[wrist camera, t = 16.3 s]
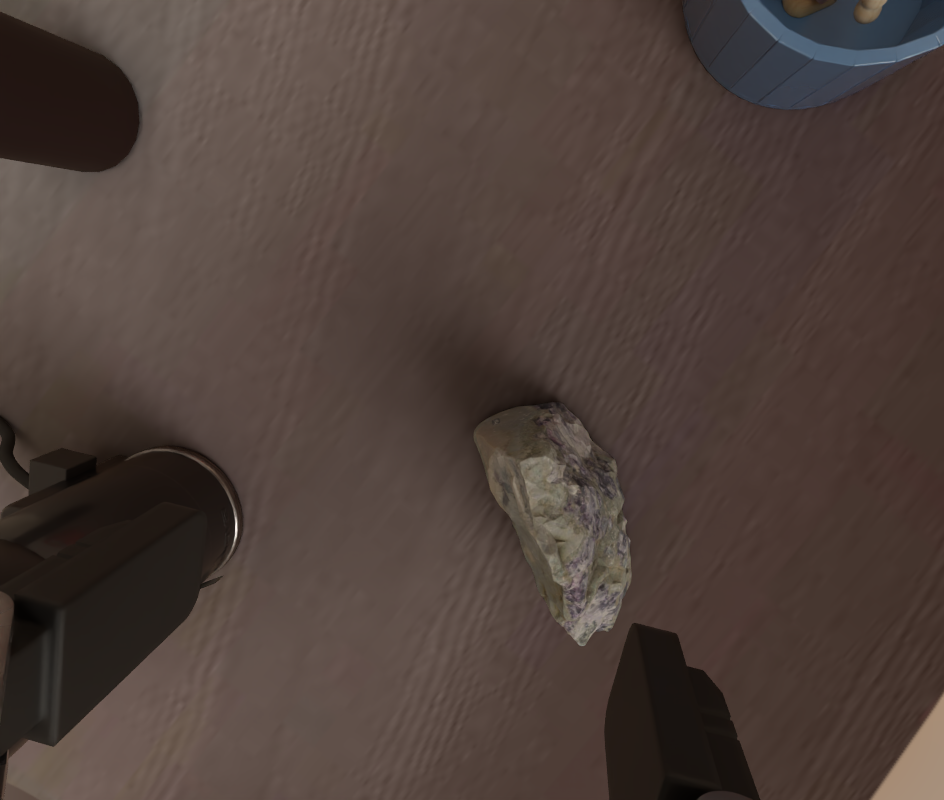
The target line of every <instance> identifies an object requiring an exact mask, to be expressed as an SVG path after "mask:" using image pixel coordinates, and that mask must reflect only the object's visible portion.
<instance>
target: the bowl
mask: <svg viewBox="0 0 944 800" xmlns="http://www.w3.org/2000/svg"><path fill="white" fill-rule="evenodd" d="M859 1H860V0H837V1H836V2H835V3H833V4H832V5H830V6H828V7H826V8H824V9H821V10H819V11H817V12H815V13H812V14H810V15H807V16H805V17H801V18H796V17H792V16H790V15H789V14H787V13H786V11H785V10H784V8H783V4H782V0H683V14H684V19H685V24H686V29H687V32H688V35H689V38H690V41H691V44H692V46H693V48H694V50H695V52H696V54H697V56H698V58H699V59H700V61H701V62H702V64H703V65H704V67H705V68H706V70H707V71H708V72H709V73H710V74H711V75H712V76H713V77H714V78H715V79H716V81H718V82H719V83H720V84H721V85H722V86H724V87H725V88H726V89H727V90H729V91H730V92H732V93H734V94H735V95H737V96H739V97H740V98H742V99H745V100H747V101H749V102H752V103H754V104H758V105H761V106H765V107H769V108H777V109H806V108H812V107H818V106H822V105H825V104H829V103H832V102H835V101H838V100H840V99H842V98H845V97H847V96H850V95H853V94H855V93H857V92H859V91H861V90H862V89H864V88H866V87H868V86H870V85H872V84H873V83H875V82H877V81H879V80H881V79H882V78H884V77H886V76H888V75H890V74H891V73H893V72H895V71H897V70H899V69H901V68H902V67H904V66H906V65H908V64H910V63H911V62H913V61H915V60H917V59H919V58H921V57H922V56H924V55H926V54H928V53H930V52H931V51H933V50H935V49H937V48H939V47H941V46H942V45H944V0H887V2H886V3H885V4H884V5H883V6H882V10H881V12H880V14H879V16H878V18H876V19H875V20H874V21H873V22H871V23H868V24H860V23H858V22H857V21H856V20H855V19H854V15H853V13H854V9H855V7H856V5H857V3H858V2H859Z"/></svg>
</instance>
